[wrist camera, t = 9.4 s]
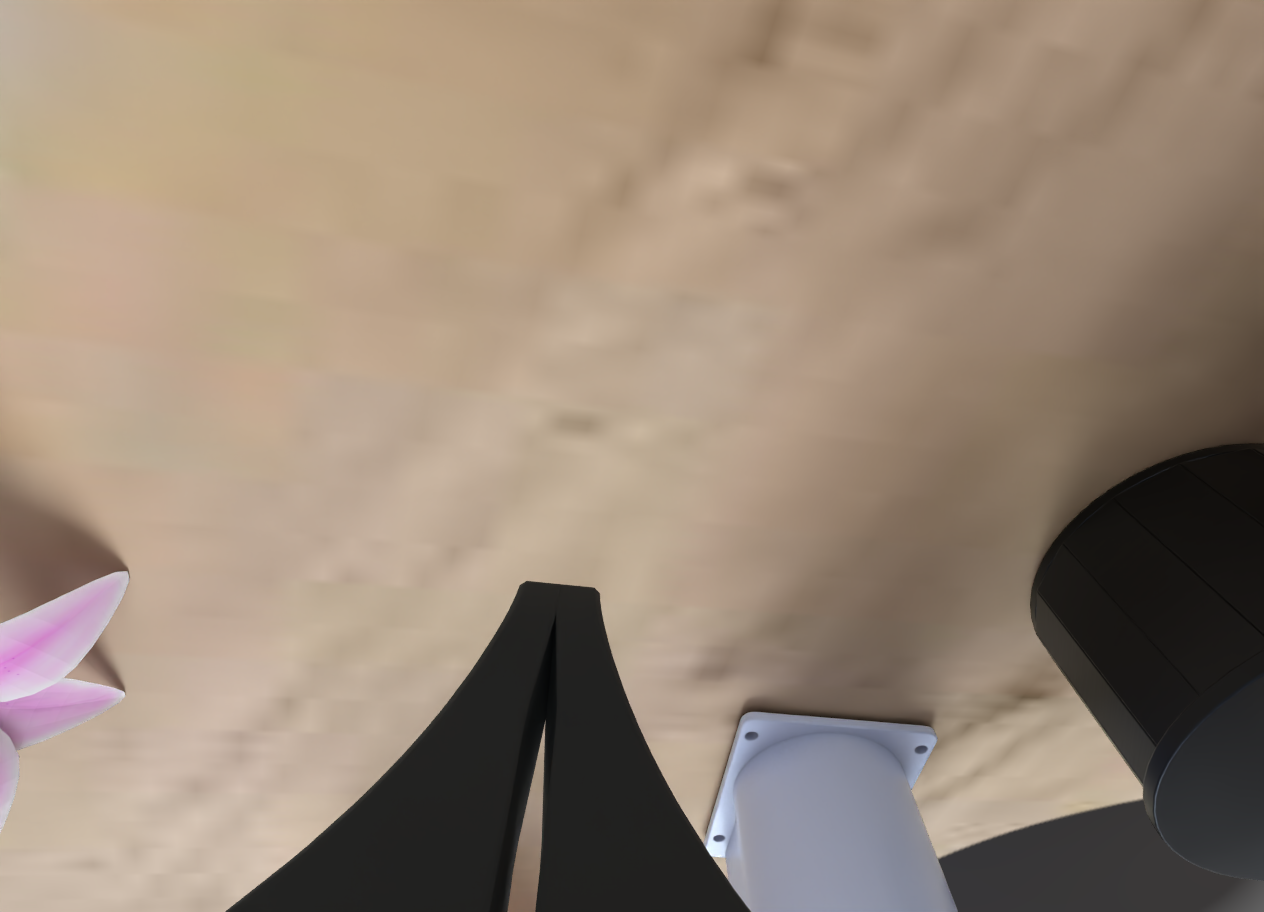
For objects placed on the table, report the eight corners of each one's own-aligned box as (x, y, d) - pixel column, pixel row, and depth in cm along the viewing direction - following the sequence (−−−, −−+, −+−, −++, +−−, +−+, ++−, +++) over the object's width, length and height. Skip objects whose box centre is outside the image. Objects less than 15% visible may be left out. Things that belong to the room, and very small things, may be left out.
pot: (1240, 688, 27) (1415, 868, 21) (985, 665, 26) (1090, 844, 20) (1425, 461, 22) (1727, 613, 16) (1113, 426, 21) (1305, 571, 15)
